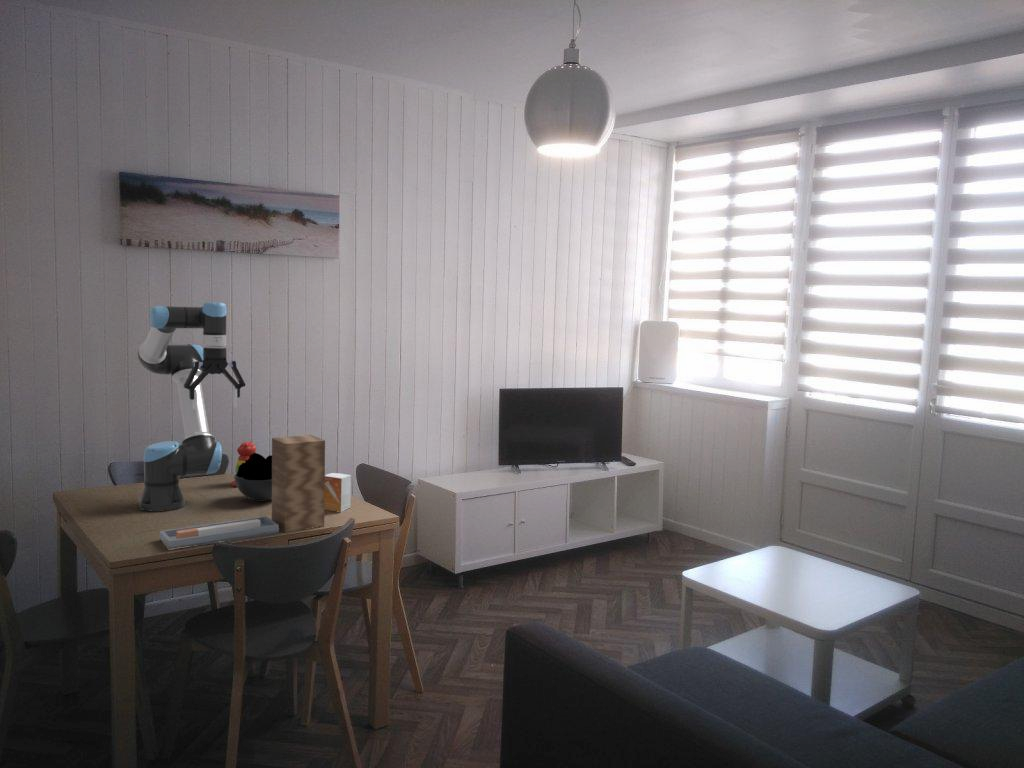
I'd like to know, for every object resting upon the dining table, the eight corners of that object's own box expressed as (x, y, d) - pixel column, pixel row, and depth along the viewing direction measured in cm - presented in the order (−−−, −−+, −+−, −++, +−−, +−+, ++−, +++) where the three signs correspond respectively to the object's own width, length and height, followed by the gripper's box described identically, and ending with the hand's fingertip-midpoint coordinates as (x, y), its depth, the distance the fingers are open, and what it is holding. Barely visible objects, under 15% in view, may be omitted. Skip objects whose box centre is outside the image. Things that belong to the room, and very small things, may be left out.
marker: (178, 541, 239) (178, 533, 239) (176, 539, 241) (176, 531, 241) (260, 528, 255) (260, 520, 255) (257, 526, 257) (257, 518, 257)
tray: (169, 550, 233) (169, 541, 233) (159, 540, 243) (159, 531, 242) (278, 533, 254) (278, 524, 253) (265, 524, 263) (265, 515, 263)
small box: (322, 509, 283) (322, 475, 282) (332, 505, 289) (332, 472, 288) (341, 512, 280) (341, 478, 279) (350, 508, 286) (351, 474, 285)
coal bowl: (230, 507, 282) (230, 457, 280) (238, 493, 301) (238, 446, 299) (286, 506, 286) (286, 457, 284) (291, 493, 305) (291, 446, 303)
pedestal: (284, 532, 255) (285, 444, 252) (271, 523, 264) (272, 438, 261) (324, 526, 263) (325, 440, 260) (310, 517, 273) (311, 434, 270)
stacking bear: (241, 480, 323) (241, 438, 321) (264, 482, 322) (264, 440, 320) (228, 486, 312) (228, 443, 310) (252, 488, 311) (252, 445, 309)
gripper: (179, 348, 254) (180, 411, 256) (254, 347, 269) (254, 407, 271) (173, 346, 260) (174, 408, 262) (247, 346, 275) (247, 404, 277)
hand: (215, 407), depth 266 cm, fingers open, 13 cm apart
